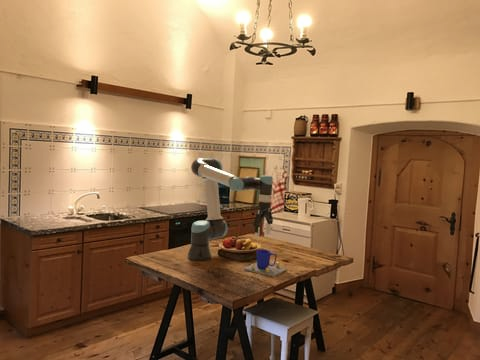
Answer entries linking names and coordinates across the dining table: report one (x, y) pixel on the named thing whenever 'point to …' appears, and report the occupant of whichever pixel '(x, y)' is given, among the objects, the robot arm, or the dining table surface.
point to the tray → (263, 271)
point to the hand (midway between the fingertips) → (262, 236)
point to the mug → (264, 258)
